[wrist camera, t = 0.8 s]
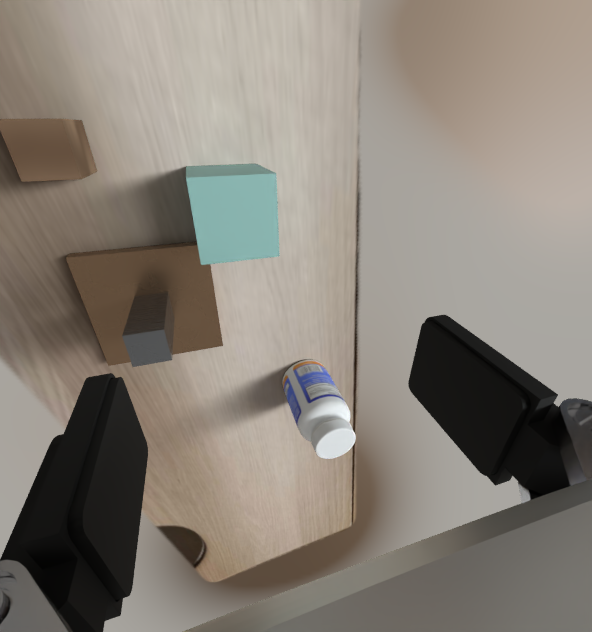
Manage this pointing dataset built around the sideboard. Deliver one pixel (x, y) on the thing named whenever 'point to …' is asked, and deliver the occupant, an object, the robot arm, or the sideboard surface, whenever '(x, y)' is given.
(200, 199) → the teal rectangular block
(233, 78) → the sideboard surface
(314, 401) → the pill bottle
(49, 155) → the tan cardboard cube
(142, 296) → the brown square base
